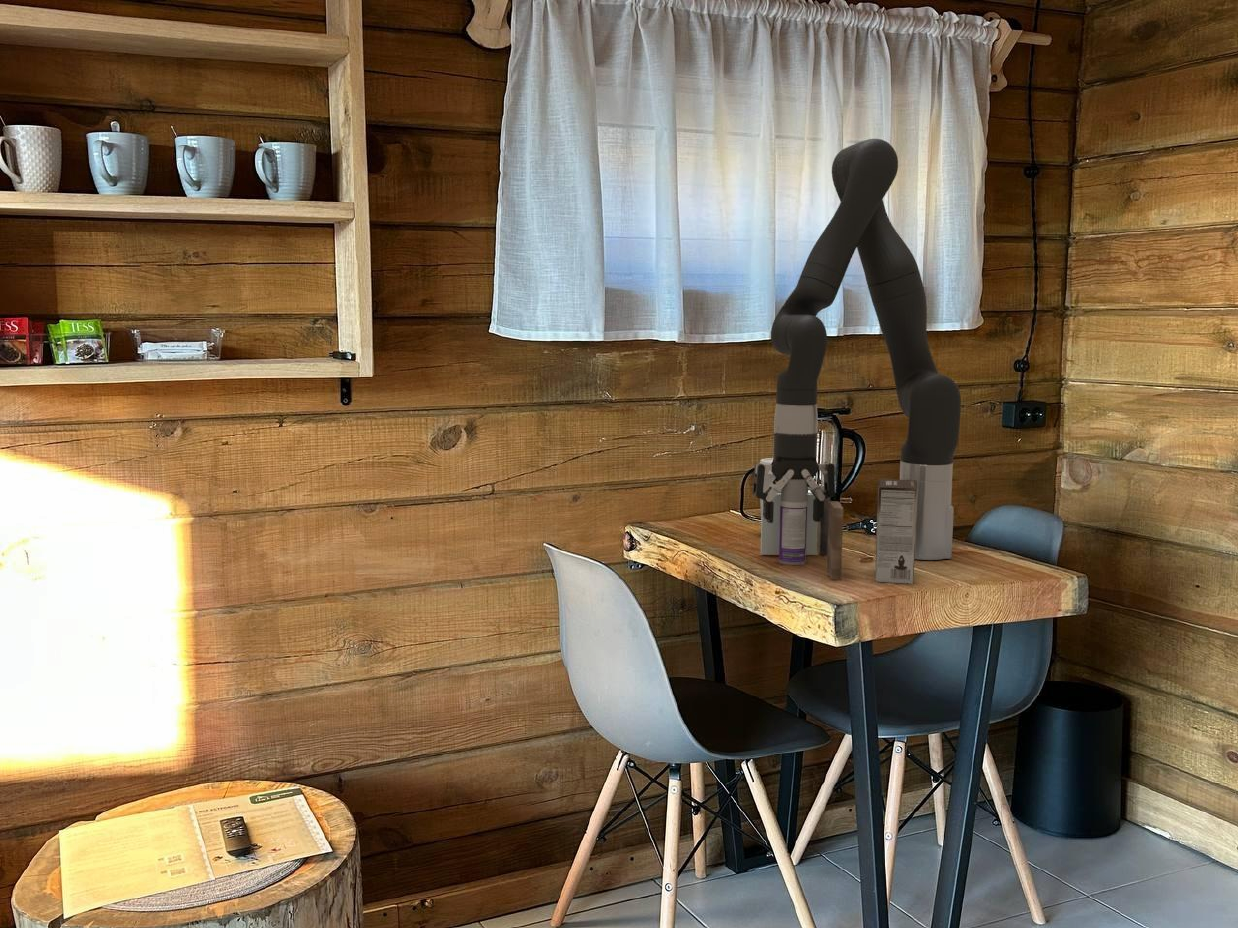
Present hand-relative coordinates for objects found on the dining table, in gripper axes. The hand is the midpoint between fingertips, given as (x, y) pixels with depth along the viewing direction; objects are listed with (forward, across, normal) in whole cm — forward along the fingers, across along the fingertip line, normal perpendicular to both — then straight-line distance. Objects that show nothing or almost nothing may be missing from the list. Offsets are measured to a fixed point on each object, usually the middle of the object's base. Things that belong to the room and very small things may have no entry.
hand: (793, 521), depth 210 cm
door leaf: (+7, -1, -5) cm, 9 cm away
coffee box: (+8, -14, +13) cm, 20 cm away
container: (+8, 0, 0) cm, 8 cm away
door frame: (+7, -6, +2) cm, 10 cm away
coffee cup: (+8, -4, -23) cm, 24 cm away
